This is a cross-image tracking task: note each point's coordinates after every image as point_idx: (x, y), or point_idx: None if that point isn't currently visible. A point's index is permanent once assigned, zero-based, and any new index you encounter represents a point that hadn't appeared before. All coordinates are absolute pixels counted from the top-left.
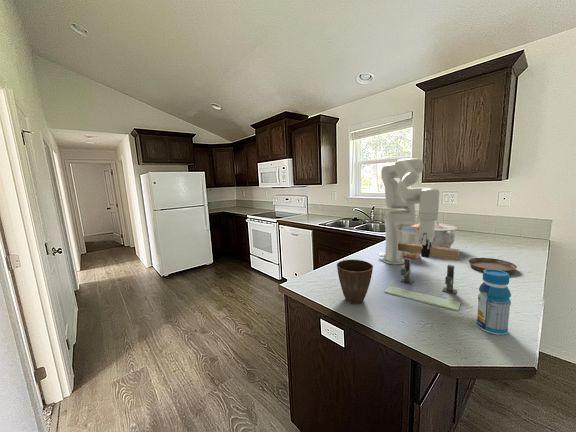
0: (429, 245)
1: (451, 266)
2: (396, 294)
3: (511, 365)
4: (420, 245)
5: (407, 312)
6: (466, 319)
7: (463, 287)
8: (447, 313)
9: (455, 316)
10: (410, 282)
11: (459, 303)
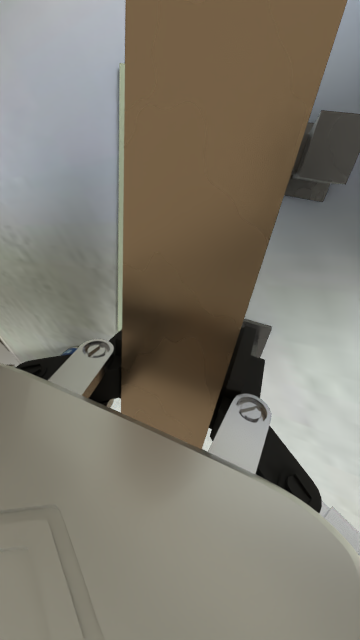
0: (211, 437)
1: None
2: (119, 137)
3: (11, 351)
4: (167, 347)
5: (37, 199)
6: (92, 334)
7: (302, 388)
8: (95, 303)
9: (91, 317)
10: (291, 187)
11: None
